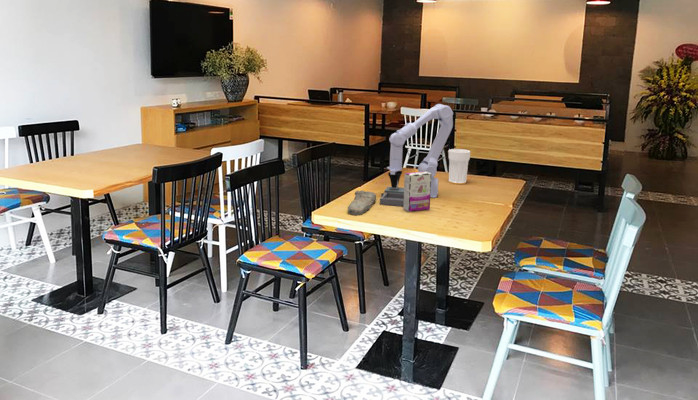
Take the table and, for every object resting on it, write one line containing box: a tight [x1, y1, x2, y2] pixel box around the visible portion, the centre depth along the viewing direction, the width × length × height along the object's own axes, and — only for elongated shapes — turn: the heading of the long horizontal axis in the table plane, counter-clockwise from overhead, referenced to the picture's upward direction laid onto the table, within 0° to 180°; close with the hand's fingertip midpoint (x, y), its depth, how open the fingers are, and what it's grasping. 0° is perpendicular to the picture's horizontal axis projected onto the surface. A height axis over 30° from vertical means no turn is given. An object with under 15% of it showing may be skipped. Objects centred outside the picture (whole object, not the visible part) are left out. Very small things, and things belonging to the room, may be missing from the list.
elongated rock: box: [347, 189, 377, 216], centre depth 265 cm, size 35×5×10 cm
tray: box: [379, 192, 404, 208], centre depth 272 cm, size 13×13×3 cm
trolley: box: [380, 186, 404, 198], centre depth 284 cm, size 14×9×7 cm
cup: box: [447, 148, 471, 186], centre depth 317 cm, size 11×11×17 cm
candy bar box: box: [402, 171, 431, 213], centre depth 259 cm, size 11×5×16 cm, turn 117°
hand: (394, 186), depth 284 cm, fingers closed on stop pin, 3 cm apart
